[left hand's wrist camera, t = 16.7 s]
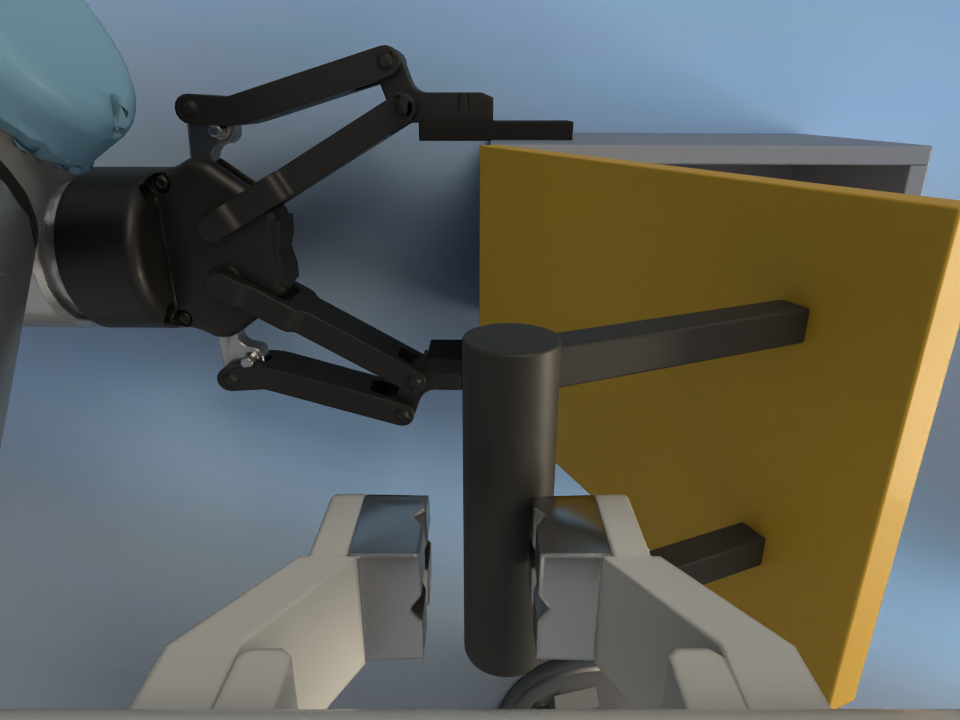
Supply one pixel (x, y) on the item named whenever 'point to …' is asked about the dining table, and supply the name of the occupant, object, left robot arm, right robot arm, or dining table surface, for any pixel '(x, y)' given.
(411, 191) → the dining table surface
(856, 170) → the chest
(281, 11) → the dining table surface
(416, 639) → the left robot arm
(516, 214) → the lid
